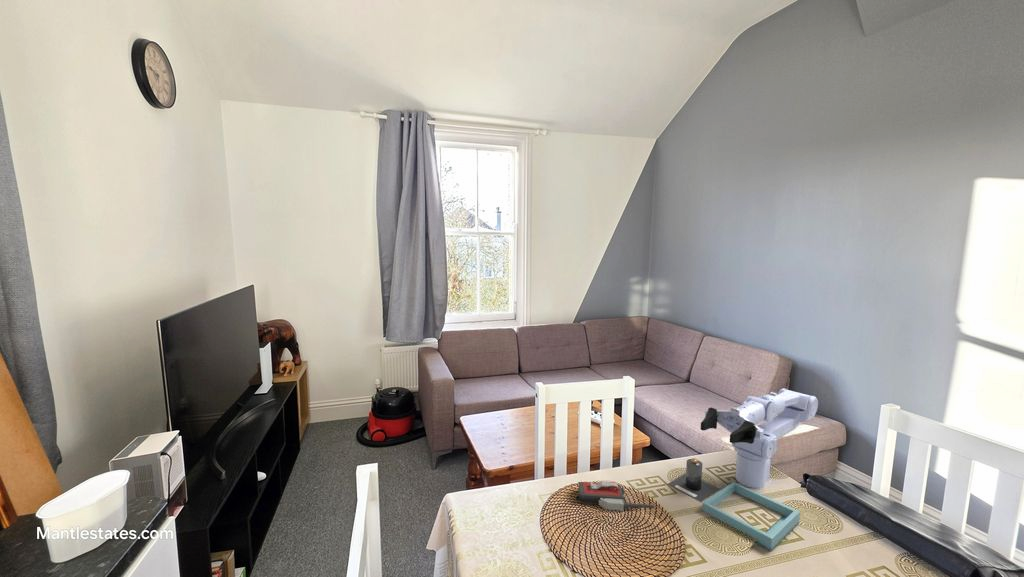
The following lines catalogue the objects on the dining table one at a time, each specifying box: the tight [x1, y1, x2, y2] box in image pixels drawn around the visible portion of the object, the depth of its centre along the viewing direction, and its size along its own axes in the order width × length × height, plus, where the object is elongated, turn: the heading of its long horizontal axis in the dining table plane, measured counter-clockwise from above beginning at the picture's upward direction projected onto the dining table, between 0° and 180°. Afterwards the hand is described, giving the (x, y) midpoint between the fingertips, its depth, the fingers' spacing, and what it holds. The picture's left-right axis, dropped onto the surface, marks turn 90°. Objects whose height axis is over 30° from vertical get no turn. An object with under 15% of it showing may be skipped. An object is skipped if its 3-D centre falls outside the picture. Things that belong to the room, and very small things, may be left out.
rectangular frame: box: [701, 481, 801, 552], centre depth 103 cm, size 16×16×3 cm
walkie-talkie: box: [575, 480, 655, 512], centre depth 110 cm, size 9×4×20 cm
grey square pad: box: [666, 472, 720, 503], centre depth 115 cm, size 10×10×1 cm
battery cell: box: [685, 458, 703, 491], centre depth 114 cm, size 4×4×8 cm
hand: (716, 432), depth 105 cm, fingers open, 7 cm apart
